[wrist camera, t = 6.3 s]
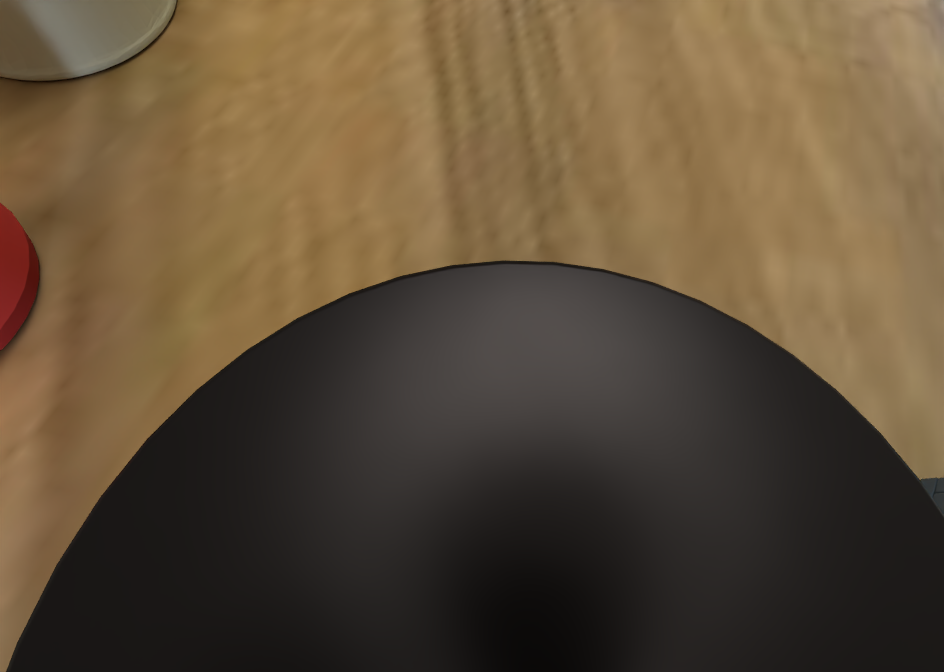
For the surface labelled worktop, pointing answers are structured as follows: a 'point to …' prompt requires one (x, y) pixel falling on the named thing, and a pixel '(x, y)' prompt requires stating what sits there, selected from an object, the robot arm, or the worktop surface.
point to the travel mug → (505, 500)
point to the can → (75, 35)
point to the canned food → (15, 275)
